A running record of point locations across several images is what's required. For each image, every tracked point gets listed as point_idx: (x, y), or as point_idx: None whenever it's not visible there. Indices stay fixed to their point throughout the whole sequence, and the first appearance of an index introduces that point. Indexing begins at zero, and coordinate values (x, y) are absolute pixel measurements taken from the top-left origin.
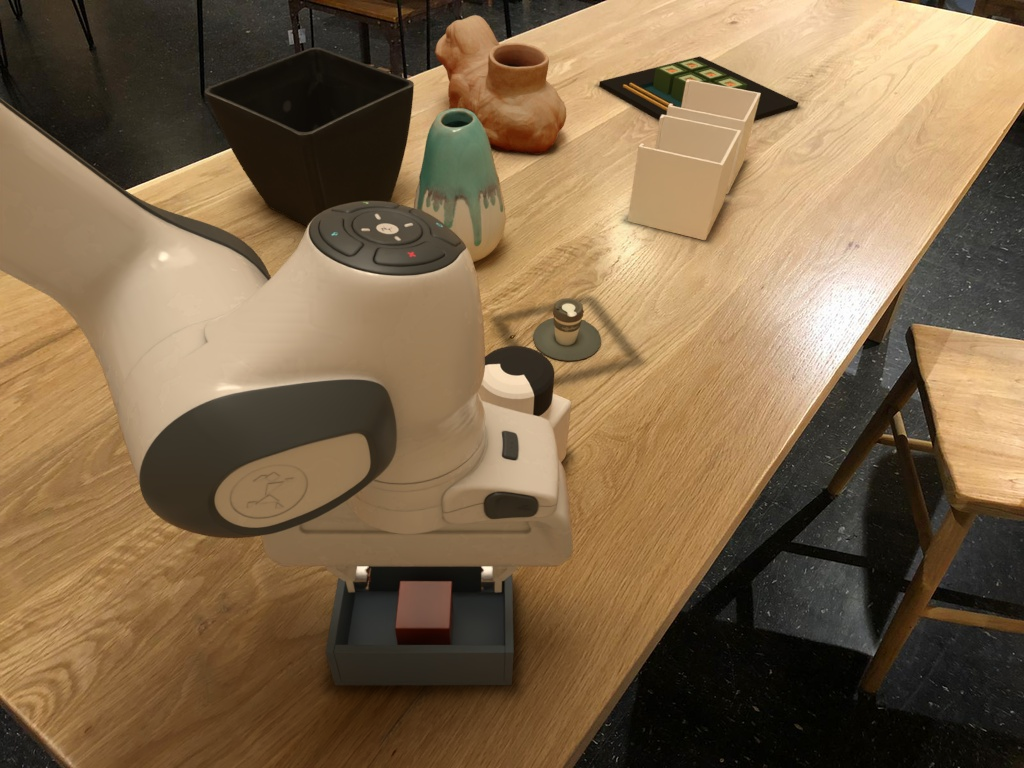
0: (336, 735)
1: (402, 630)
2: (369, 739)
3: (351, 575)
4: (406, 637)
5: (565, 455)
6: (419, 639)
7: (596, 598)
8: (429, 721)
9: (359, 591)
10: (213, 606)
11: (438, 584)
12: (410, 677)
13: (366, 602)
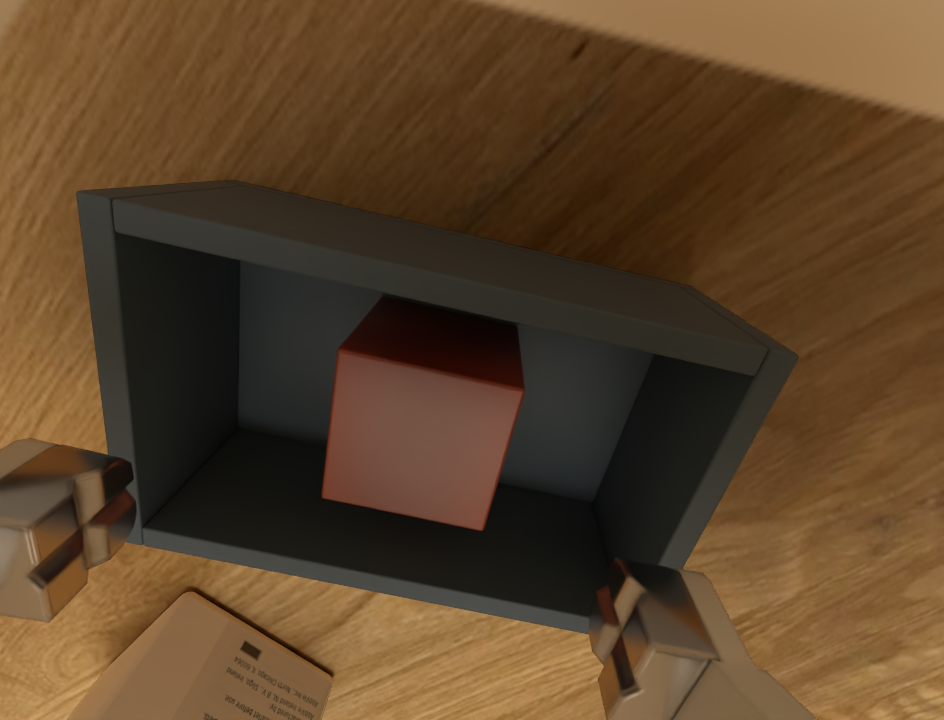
0: (724, 143)
1: (500, 378)
2: (638, 109)
3: (732, 702)
4: (491, 357)
5: (101, 674)
6: (452, 343)
7: (17, 363)
8: (465, 125)
9: (662, 572)
10: (909, 533)
11: (364, 497)
12: (498, 249)
13: (573, 472)
